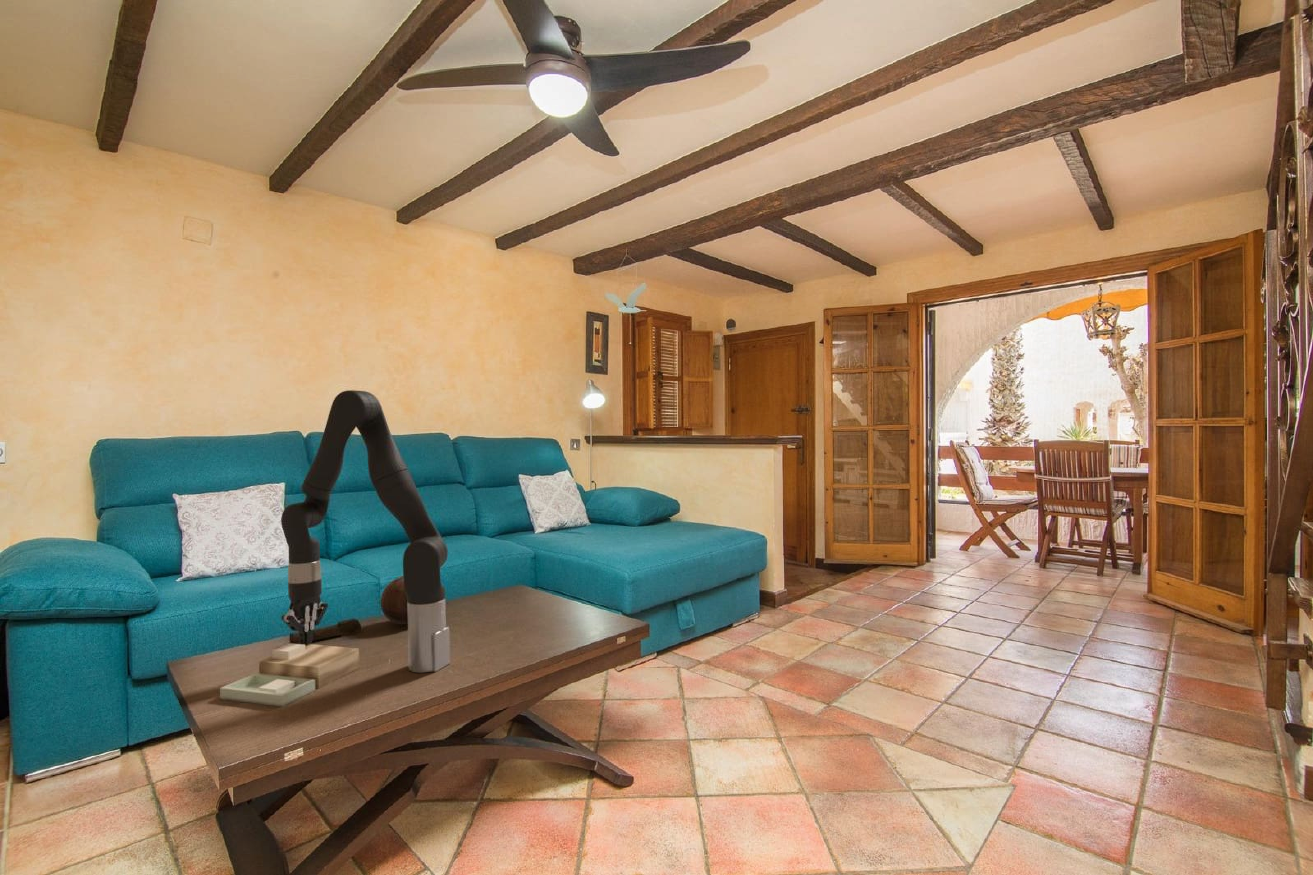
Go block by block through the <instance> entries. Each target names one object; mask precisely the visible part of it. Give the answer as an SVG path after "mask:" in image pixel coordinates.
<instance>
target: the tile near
mask: <svg viewBox="0 0 1313 875" xmlns="http://www.w3.org/2000/svg"><path fill="white" fill-rule="evenodd" d="M293 688H295V685H294V681H290V680H281V679H277V680H274V681H272V682H270V683H268V684H266V685H263V686H261V687H259V691H267V692H275V693H284V692H286V691H288V690H290V689H293Z"/></svg>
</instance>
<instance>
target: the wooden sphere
mask: <svg viewBox="0 0 1313 875" xmlns="http://www.w3.org/2000/svg"><path fill="white" fill-rule="evenodd" d="M380 609H381V611H382V614H383V615H384V617H385V618H386V619H387V620H389V622H392V623H393V624H397V625H408V607H407V595H406V592H405V589H404V577H403V576H400V577H397V578H396V579H393V580H392V581H391V582H389V583H388V584H387V585H386V586H385V587H384V589H383V592H382V594H381V597H380Z"/></svg>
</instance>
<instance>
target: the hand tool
mask: <svg viewBox="0 0 1313 875" xmlns="http://www.w3.org/2000/svg"><path fill="white" fill-rule="evenodd" d="M337 622H338V623H337V624H334V625H328V626H325V627H320V628H319V627H318V628H315V629H313V640H312V642H314V641H320V640H324V639H328V638H331V637H332V638H333V637H338V636H339V637H340V638H342V637H343V638H344V637H347V636H351V635H354V634H356V633H359V632H361V631H362V624H361V622H360V621H359V619H356V618H350V619H343V620H341V621H337ZM288 640H289V643H292V644H300V643H299V632H290V633H289V638H288Z"/></svg>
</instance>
